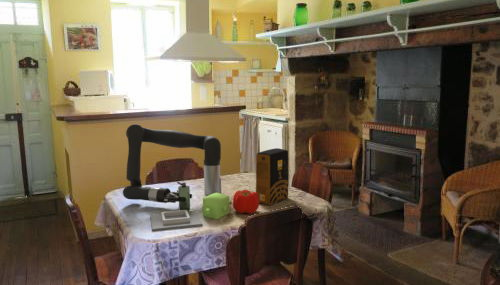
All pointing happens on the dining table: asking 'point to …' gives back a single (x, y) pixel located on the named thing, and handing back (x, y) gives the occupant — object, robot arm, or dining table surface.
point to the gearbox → (216, 205)
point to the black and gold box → (272, 176)
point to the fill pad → (175, 220)
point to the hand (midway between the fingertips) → (188, 197)
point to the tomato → (245, 201)
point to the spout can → (184, 192)
